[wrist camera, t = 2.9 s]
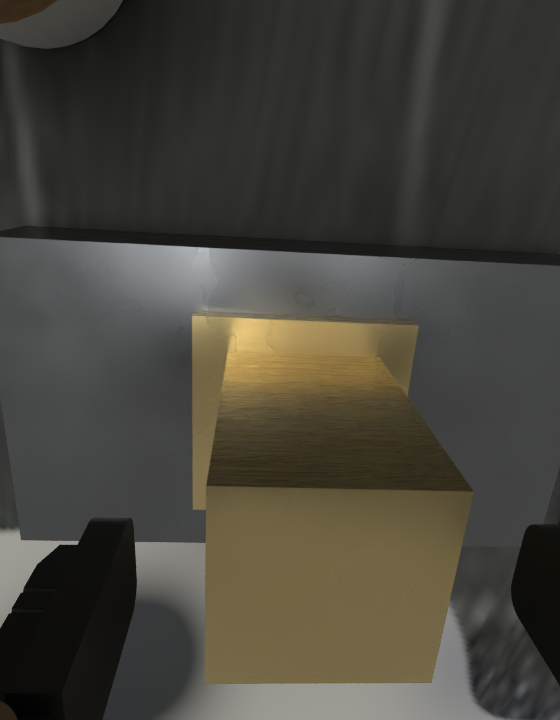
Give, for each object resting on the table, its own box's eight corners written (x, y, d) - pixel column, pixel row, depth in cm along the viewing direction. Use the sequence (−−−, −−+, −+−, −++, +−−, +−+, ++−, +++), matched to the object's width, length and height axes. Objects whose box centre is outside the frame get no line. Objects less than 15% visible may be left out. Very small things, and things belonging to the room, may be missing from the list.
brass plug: (204, 290, 17) (140, 427, 8) (388, 298, 17) (546, 440, 8) (203, 454, 19) (153, 720, 10) (367, 458, 19) (471, 718, 10)
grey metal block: (25, 226, 16) (-24, 235, 13) (557, 254, 17) (616, 269, 14) (55, 488, 19) (21, 540, 17) (498, 497, 21) (536, 547, 18)
